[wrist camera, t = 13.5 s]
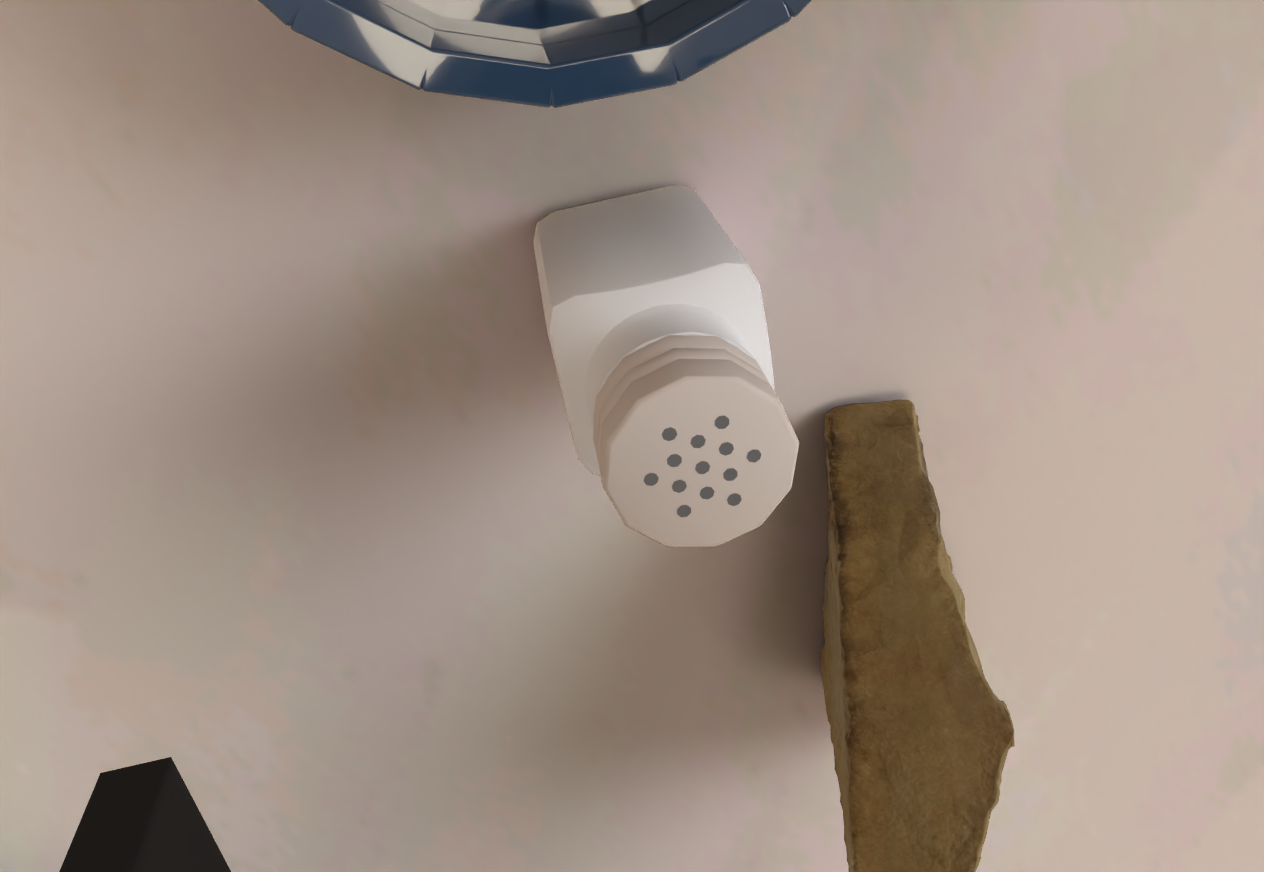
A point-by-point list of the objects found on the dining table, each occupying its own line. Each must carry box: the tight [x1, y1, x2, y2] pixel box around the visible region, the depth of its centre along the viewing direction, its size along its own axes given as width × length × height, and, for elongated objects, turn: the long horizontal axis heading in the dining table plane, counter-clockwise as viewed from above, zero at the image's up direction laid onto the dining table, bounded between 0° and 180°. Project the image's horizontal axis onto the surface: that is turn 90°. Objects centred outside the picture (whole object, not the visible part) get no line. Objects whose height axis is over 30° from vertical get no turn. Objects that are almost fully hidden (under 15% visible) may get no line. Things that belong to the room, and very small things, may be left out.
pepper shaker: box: [533, 185, 799, 547], centre depth 21 cm, size 4×4×10 cm
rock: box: [820, 400, 1014, 872], centre depth 27 cm, size 11×9×10 cm
